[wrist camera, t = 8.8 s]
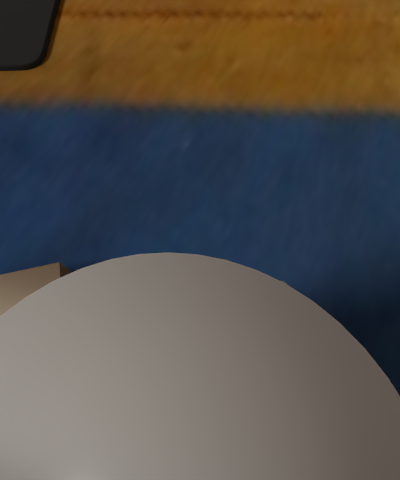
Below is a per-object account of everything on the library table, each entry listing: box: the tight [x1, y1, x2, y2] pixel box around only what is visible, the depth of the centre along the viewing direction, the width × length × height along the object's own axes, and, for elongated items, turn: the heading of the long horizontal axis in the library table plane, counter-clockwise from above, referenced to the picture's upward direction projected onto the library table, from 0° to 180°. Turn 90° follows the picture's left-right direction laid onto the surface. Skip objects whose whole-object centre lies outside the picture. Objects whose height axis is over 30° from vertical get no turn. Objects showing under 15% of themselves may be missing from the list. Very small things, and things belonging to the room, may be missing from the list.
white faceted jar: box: [0, 253, 400, 480], centre depth 9 cm, size 8×8×10 cm
